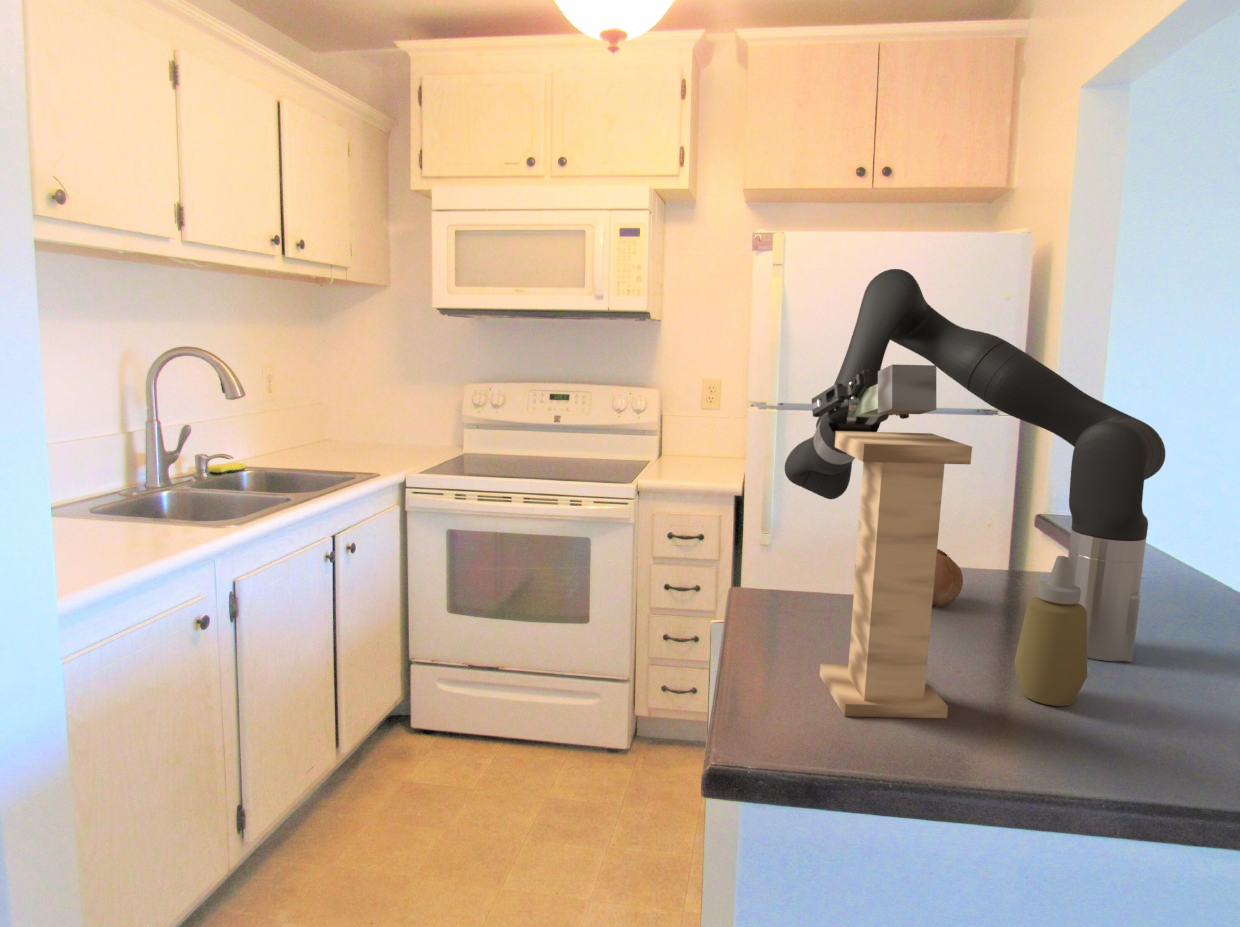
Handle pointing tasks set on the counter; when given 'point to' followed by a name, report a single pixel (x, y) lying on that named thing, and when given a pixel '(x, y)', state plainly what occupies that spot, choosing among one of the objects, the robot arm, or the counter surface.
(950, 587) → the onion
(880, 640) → the stand
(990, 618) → the counter surface
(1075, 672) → the squeeze bottle
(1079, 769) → the counter surface
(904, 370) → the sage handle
